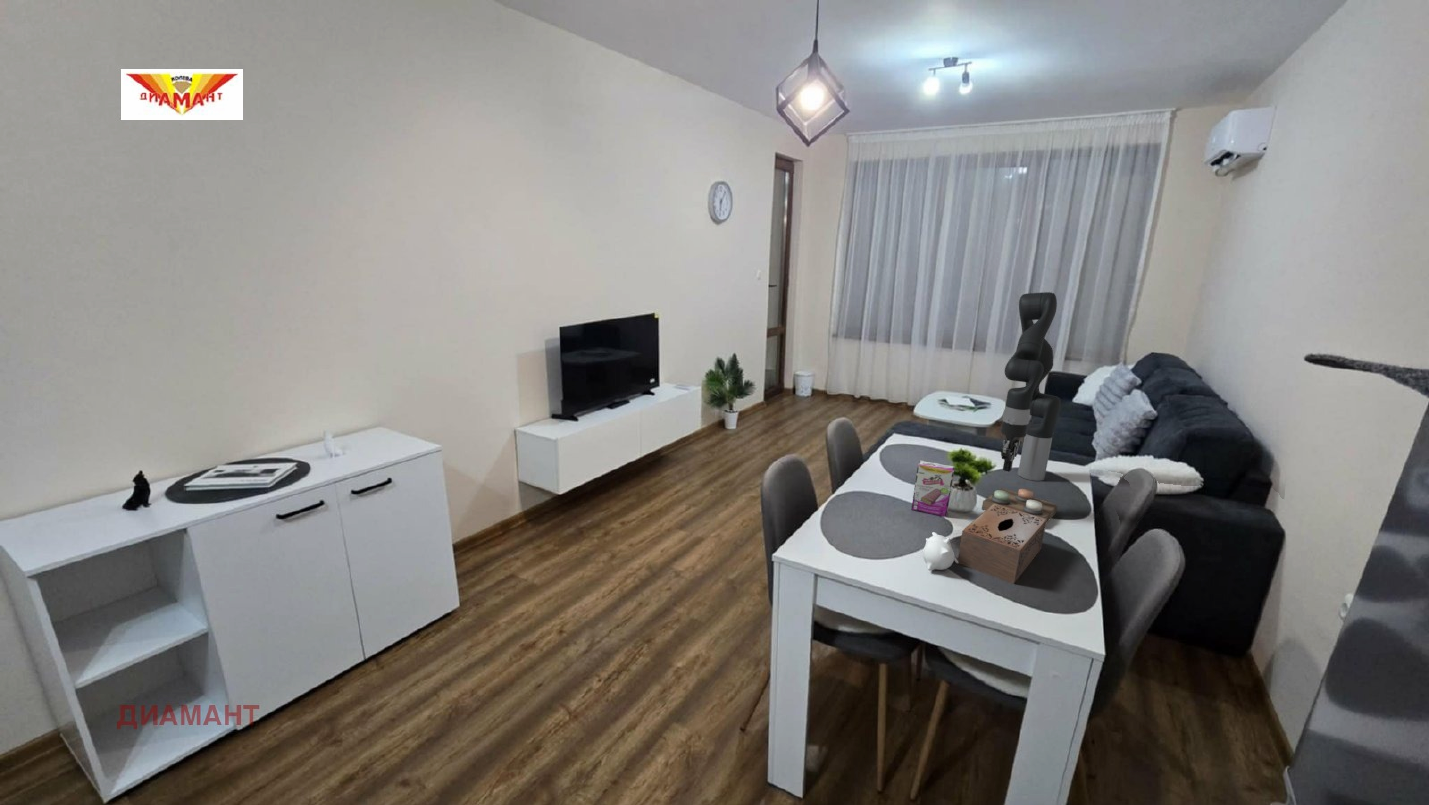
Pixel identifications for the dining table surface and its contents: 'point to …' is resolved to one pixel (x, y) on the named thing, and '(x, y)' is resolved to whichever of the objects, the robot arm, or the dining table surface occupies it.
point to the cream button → (1033, 505)
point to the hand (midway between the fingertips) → (1006, 470)
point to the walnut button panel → (1022, 505)
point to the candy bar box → (932, 488)
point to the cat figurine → (938, 552)
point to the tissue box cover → (1002, 542)
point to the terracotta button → (1025, 494)
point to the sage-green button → (1001, 495)
